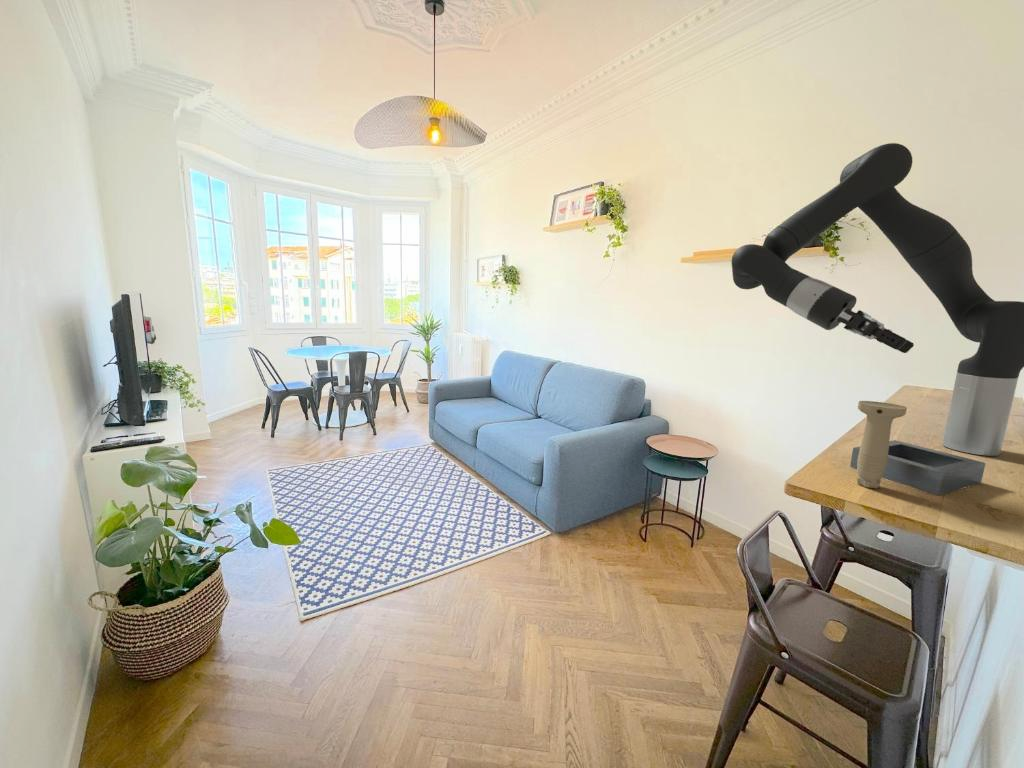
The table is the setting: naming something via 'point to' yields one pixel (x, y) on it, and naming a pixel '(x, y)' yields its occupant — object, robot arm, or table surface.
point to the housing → (928, 468)
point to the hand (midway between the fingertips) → (906, 347)
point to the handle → (876, 440)
